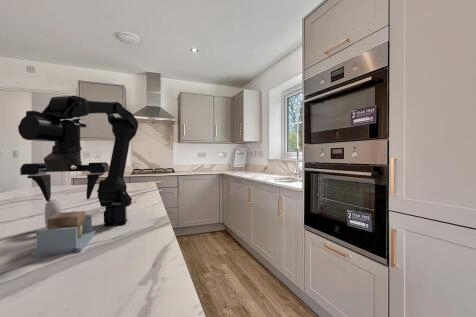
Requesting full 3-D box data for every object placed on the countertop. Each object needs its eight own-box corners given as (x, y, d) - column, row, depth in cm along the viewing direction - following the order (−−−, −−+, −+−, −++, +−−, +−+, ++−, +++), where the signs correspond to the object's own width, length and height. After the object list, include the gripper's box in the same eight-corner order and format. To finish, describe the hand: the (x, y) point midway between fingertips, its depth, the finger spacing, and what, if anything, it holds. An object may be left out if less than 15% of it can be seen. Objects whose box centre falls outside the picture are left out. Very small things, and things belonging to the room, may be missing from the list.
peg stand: (95, 233, 72) (95, 214, 71) (80, 251, 58) (80, 227, 58) (56, 237, 68) (56, 217, 68) (31, 257, 55) (31, 232, 55)
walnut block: (85, 221, 67) (85, 211, 67) (77, 228, 61) (77, 216, 61) (58, 223, 65) (58, 212, 65) (47, 230, 59) (47, 218, 59)
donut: (62, 232, 73) (62, 200, 73) (48, 235, 71) (48, 202, 70) (57, 226, 80) (56, 196, 80) (44, 228, 77) (43, 198, 77)
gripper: (5, 140, 53) (6, 209, 53) (99, 141, 59) (100, 203, 59) (31, 142, 63) (32, 200, 64) (108, 143, 69) (109, 196, 69)
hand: (68, 200), depth 64 cm, fingers open, 9 cm apart
